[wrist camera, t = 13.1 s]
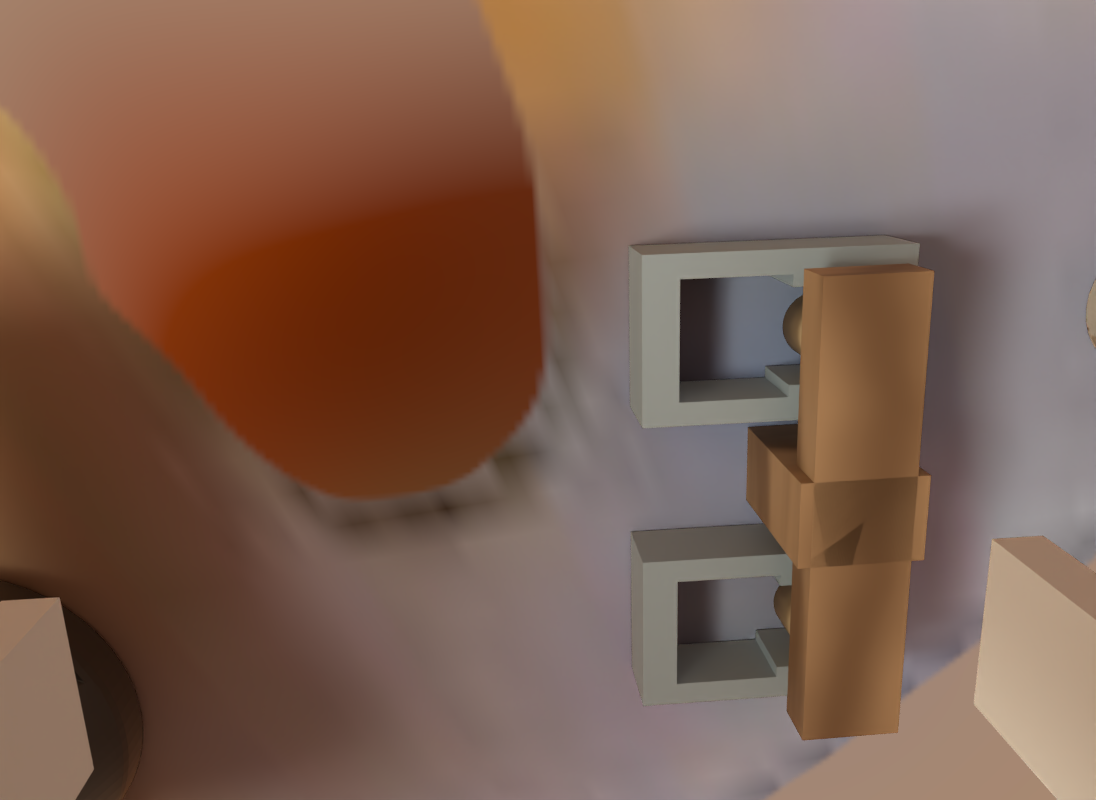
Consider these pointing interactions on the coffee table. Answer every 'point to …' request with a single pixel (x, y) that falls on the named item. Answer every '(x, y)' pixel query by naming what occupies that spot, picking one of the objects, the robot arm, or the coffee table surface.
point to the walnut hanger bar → (849, 492)
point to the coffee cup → (1091, 314)
